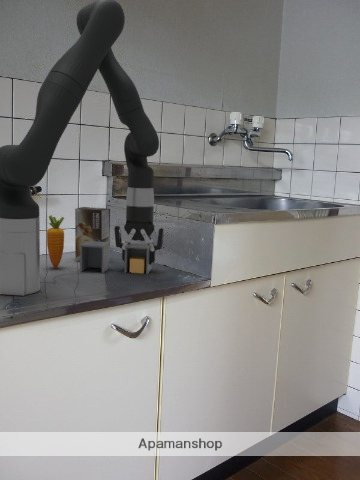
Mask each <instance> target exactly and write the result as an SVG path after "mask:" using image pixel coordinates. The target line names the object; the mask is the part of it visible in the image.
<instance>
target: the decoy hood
mask: <svg viewBox="0 0 360 480" xmlns="http://www.w3.org/2000/svg"><path fill="white" fill-rule="evenodd" d="M88 268H94V269H95V268H97V269H98V268H99V269H101V274H104V273H105V272H106V271H108V270H109V269H110V260H109V242H95V241H86V242H84V243H83V244H81V245H80V261H79V272H80V273H82V272H84V271H85V270H86V269H88Z"/></svg>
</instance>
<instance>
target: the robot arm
mask: <svg viewBox="0 0 360 480" xmlns="http://www.w3.org/2000/svg"><path fill="white" fill-rule="evenodd" d="M125 18H126V17H125V12H124V9H123V7H122V5H121V4H120V3H119V2H118V1H117V0H95V1H93V2H91V3H88V4H87V5H85V6H83V7H82V8H81V9H79V11H78V12H77V15H76V27H77V31H78V33H79V35H80V36H79V38H78V39H77V40H76V42H75V43H74V44H73V45H72V46H70V48H68V49H67V50H66V52H65V53H64V54H62V56H61V57H59V59H58V60H57V61H56V62H55V64H54V65H53V66H52V67H51V68H50V70H49V72H48V73H47V75H46V77H45V79H44V80H43V82H42V84H41V86H40V88H39V91H38V93H37V97H36V105H35V106H36V107H35V115H34V120H33V122H32V124H31V127H30V128H29V130H28V132H27V133H26V135H25V136H24V137H23V138H22V141H21V142H20V143H19V144H6V145H3V146H0V295H8V296H9V295H10V296H23V297H24V296H26V295H31V294H33V293H34V294H35V293H37V292H39V291H40V290H41V266H40V265H41V264H40V263H41V260H40V257H41V255H40V254H41V251H40V248H41V247H40V244H41V243H40V241H41V240H40V236H41V235H40V233H41V232H40V227H41V226H40V222H41V221H40V206H39V203H37V202H36V201H35V199H34V198H33V197H32V195H31V190H30V188H32V187H35V186H36V185H38V184H39V183H40V182H41V181H42V179H43V178H44V177H45V174H46V173H47V171H48V169H49V166H50V164H51V162H52V158H53V156H54V153H55V151H56V149H57V147H58V145H59V144H58V143H59V142H60V139H61V138H62V136H63V134H64V133H65V130H66V129H67V127H68V125H69V123H70V122H71V119H72V117H73V116H74V114H75V112H76V110H77V109H78V107H79V105H80V104H81V102H82V100H83V99H84V96H85V95H86V92H87V90H88V88H89V87H90V84H91V82H92V81H93V80H94V78H95V75H96V73H97V71H99V73H100V75H101V77H102V79H103V82H104V83H105V85H106V87H107V90H108V93H109V95H110V97H111V100H112V103H113V106H114V109H115V111H116V115H117V116H118V117H117V118H118V120H119V122H120V123H121V124H122V125H124V126H126V127H127V128H128V130H129V131H130V132H128V134H127V135H126V136H125V139H124V145H123V149H124V150H123V151H124V156H125V157H124V158H125V164H126V168H127V171H128V172H127V173H128V174H127V190H126V191H127V192H126V208H125V209H126V211H125V213H126V214H125V215H126V217H125V224H124V225H120V224H117V225H116V226H114V238H115V239H114V240H115V247H116V248H120V249H121V251H122V252H121V260H122V261H123V262H124V264H125V246H126V245H129V244H130V243H131V242H132V241H135V242H136V241H140V242H145V243H147V245H148V246H150V257H149V264H150V265H152V266H153V263H155V261H156V251H157V250H158V251H160V250H161V249H162V248H163V243H164V236H165V235H164V233H165V227H156V226H155V225H154V211H155V210H154V209H155V206H154V205H155V194H154V179H155V178H154V177H155V176H154V175H155V174H154V168H152V167H151V166H150V165H149V163H148V158H149V157H153V156H154V155H155V154H157V152H158V151H159V147H160V140H159V135H158V133H157V130H156V129H155V127H154V125H153V123H152V121H151V119H150V118H149V117H148V115H147V114H146V112H145V109H144V106H143V104H142V100H141V98H140V94H139V91H138V89H137V87H136V84H135V82H133V80H132V78H131V77H130V76H129V74H128V73H127V72H126V71H125V70H124V68H123V67H122V65H120V62H118V59H117V58H116V57H115V53H114V52H113V48H112V46H113V45H114V44H115V43H116V42H117V40H118V39H119V37H120V35H121V34H122V33H123V30H124V28H125V21H126V19H125ZM124 231H125V232H126V235H127V237H126V239H125V241H124V242H123V241H122V233H124ZM154 232H155V235H156V236H157V241H156V245H155V243H154V240H153V238H152V234H153V233H154Z"/></svg>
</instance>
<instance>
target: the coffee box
mask: <svg viewBox="0 0 360 480" xmlns="http://www.w3.org/2000/svg"><path fill="white" fill-rule="evenodd" d="M74 224H75V225H74V235H75V236H74V237H75V238H74V239H75V240H74V241H75V242H74V244H75V247H74V250H75V251H74V252H75V262H80V245H81V244H83V243H84V242H86V241H95V242H109V261H111V255H110V254H111V249H110V248H111V208H104V207H92V206H91V207H90V206H89V207H88V206H83V207H82V206H81V207H77V208H75V209H74Z"/></svg>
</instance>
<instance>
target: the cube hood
mask: <svg viewBox="0 0 360 480" xmlns="http://www.w3.org/2000/svg"><path fill="white" fill-rule="evenodd" d="M132 256H141V257H147V260H146V271H145V274H146V275H148V274H149V273H150V272H151V271H152V269H153V268H152V267H153V264H152V265H150V264H149V257H150V246H148V245H147V243H146V242H132V241H131V243H130V244H129V245H126V246H125V263H124V273H125V274H127V273H128V271H130V258H131V257H132ZM126 272H127V273H126Z"/></svg>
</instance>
